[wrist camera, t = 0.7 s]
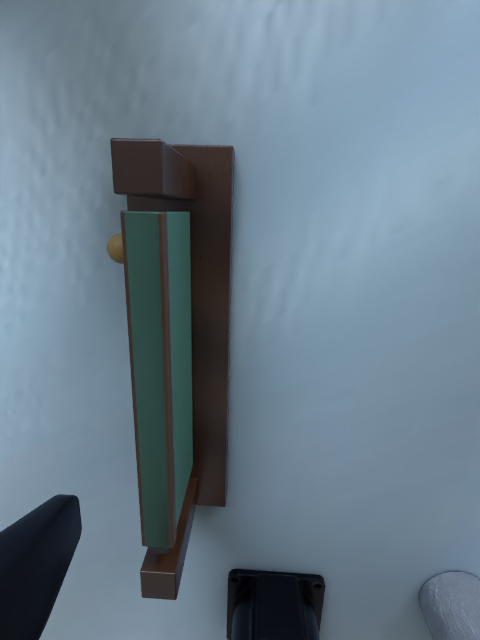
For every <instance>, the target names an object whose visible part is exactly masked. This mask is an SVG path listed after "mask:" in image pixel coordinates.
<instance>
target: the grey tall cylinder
mask: <svg viewBox="0 0 480 640" xmlns="http://www.w3.org/2000/svg"><path fill="white" fill-rule="evenodd" d="M419 603H420V606H421V609H422V612H423V615H424V617H425V620H426V622H427V624H428V627H429V629H430V632H431V634H432V637H433V639H434V640H480V579H479V578H477V577H476V576H474V575H472V574H469V573H465V572H447V573H443V574H440V575H437V576H435V577H433V578H431V579H430V580H429V581H427V582H426V583H425V584H424V586H423V587H422V589H421V591H420V594H419Z"/></svg>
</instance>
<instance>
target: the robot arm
mask: <svg viewBox="0 0 480 640" xmlns="http://www.w3.org/2000/svg"><path fill="white" fill-rule="evenodd" d="M81 530H82V524H81V515H80V506H79V500H78V497H77V496H75V495H64V494H59V495H56V496H54V497H52V498H51V499H49V500H48V501H46V502H45V503H43V504H42V505H40V506H39V507H37V508H36V509H34V510H33V511H31V512H30V513H28V514H27V515H25V516H24V517H22V518H21V519H19V520H18V521H16V522H15V523H13V524H12V525H10V526H9V527H7V528H6V529H4V530H3V531H1V532H0V640H39V638H40V636H41V634H42V632H43V630H44V628H45V625H46V623H47V621H48V618H49V616H50V614H51V611H52V609H53V606H54V604H55V601H56V598H57V596H58V593H59V591H60V588H61V586H62V583H63V580H64V578H65V575H66V573H67V570H68V568H69V565H70V562H71V560H72V557H73V555H74V552H75V550H76V547H77V544H78V542H79V539H80V536H81ZM324 591H325V583H324V578H323V577H322V576H320V575H314V574H300V573H285V572H270V571H256V570H241V569H233V570H231V571H230V572H229V575H228V603H227V639H228V640H320V639H319V629H320V622H321V614H322V606H323V599H324Z"/></svg>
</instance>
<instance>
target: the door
mask: <svg viewBox="0 0 480 640" xmlns="http://www.w3.org/2000/svg"><path fill="white" fill-rule="evenodd" d="M121 228H122V233H121V234H116V235H114V236H112V237H111V238H110V239H109V241H108V243H107V252H108V255H109V256H110V258H111V259H112V260H114V261H115V262H118V263H124V274H125V289H126V304H127V320H128V335H129V350H130V366H131V381H132V396H133V412H134V427H135V442H136V458H137V473H138V488H139V504H140V519H141V534H142V546H147V547H151V549H152V551H153V552H155V553H157V554H165V553H167V552H168V551H169V549H170V548H173V547H174V544H175V540H176V528H177V524H178V520H179V516H180V512H181V509H182V505H183V501H184V497H185V493H186V489H187V485H188V482H189V478H190V474H191V470H192V466H193V433H192V345H191V258H190V212H182V211H121Z"/></svg>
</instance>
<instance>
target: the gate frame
mask: <svg viewBox="0 0 480 640" xmlns="http://www.w3.org/2000/svg"><path fill="white" fill-rule="evenodd" d="M110 142H111V157H112V171H113V186H114V193H115V194H119V195H127V204H128V211H182V212H190V258H191V345H192V433H193V466H192V470H191V474H190V478H189V482H188V485H187V489H186V493H185V497H184V501H183V505H182V509H181V512H180V516H179V520H178V524H177V528H176V540H175V544H174V547H173V548H170V549H169V551H168V552H167V553H165V554H157V553H155V552H153V551H152V549H151V547H148V549H147V552H146V555H145V558H144V561H143V564H142V567H141V570H140V577H141V592H142V597H143V598H155V599H169V600H176V599H177V594H178V590H179V585H180V580H181V576H182V571H183V566H184V561H185V557H186V552H187V547H188V542H189V538H190V533H191V528H192V523H193V519H194V514H195V509H196V505H204V506H220V507H225V506H226V497H227V462H228V416H229V370H230V325H231V279H232V233H233V187H234V149H233V146H215V145H171V144H166V143H165V142H164V141H162V140H161V139H129V138H112V139H111V140H110Z"/></svg>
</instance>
